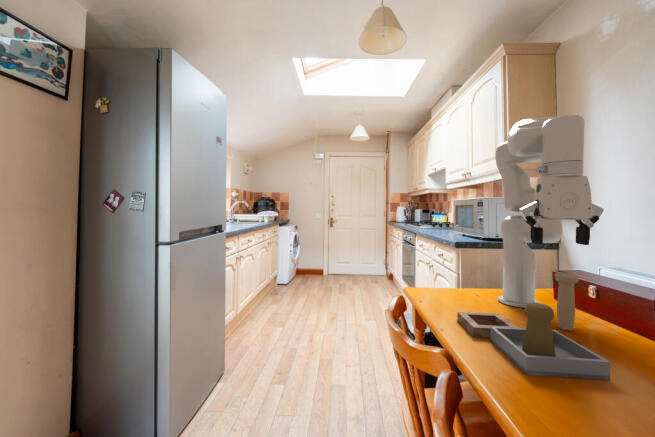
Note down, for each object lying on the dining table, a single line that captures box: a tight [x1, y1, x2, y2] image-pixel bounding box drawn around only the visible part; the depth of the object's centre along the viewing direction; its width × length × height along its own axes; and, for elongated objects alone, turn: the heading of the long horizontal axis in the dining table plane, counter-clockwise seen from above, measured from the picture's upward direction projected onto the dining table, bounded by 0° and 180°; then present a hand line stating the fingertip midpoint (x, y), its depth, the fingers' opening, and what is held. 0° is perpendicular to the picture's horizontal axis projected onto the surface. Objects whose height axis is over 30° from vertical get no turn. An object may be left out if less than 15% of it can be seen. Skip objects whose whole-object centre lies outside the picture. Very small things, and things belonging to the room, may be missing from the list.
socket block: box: [456, 311, 520, 339], centre depth 77 cm, size 12×12×2 cm
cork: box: [522, 302, 556, 357], centre depth 62 cm, size 6×6×11 cm
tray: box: [489, 327, 611, 381], centre depth 61 cm, size 15×15×4 cm
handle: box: [554, 272, 580, 332], centre depth 77 cm, size 5×6×15 cm
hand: (559, 243), depth 66 cm, fingers open, 9 cm apart
